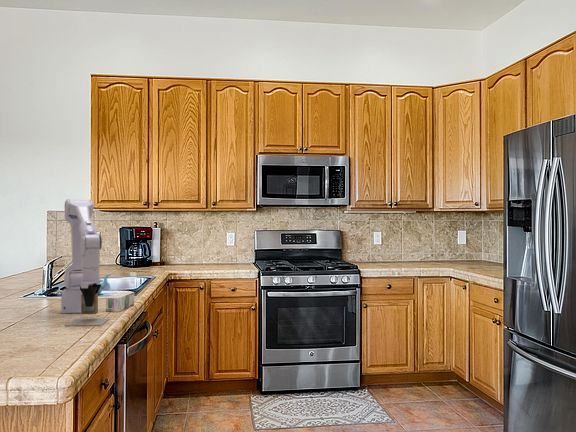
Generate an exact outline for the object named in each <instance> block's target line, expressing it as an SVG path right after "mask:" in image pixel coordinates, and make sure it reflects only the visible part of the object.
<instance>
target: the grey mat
mask: <svg viewBox="0 0 576 432" xmlns="http://www.w3.org/2000/svg"><path fill="white" fill-rule="evenodd" d="M109 320H110V318H74V319H73V320H70V321H69V322H67V323H66V324H64V327H96V326H97V327H99V326H101V327H102V326H103V325H104V324H105V323H107V322H108V321H109Z"/></svg>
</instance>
